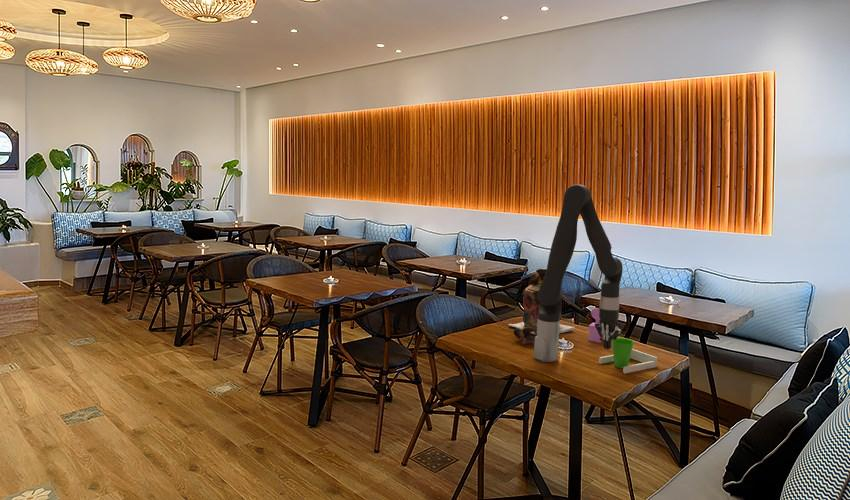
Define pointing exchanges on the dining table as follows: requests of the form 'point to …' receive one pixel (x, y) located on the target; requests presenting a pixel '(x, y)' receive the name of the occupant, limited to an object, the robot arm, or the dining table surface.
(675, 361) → the dining table surface
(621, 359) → the cup
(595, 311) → the toy chair
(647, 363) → the bay
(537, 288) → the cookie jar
